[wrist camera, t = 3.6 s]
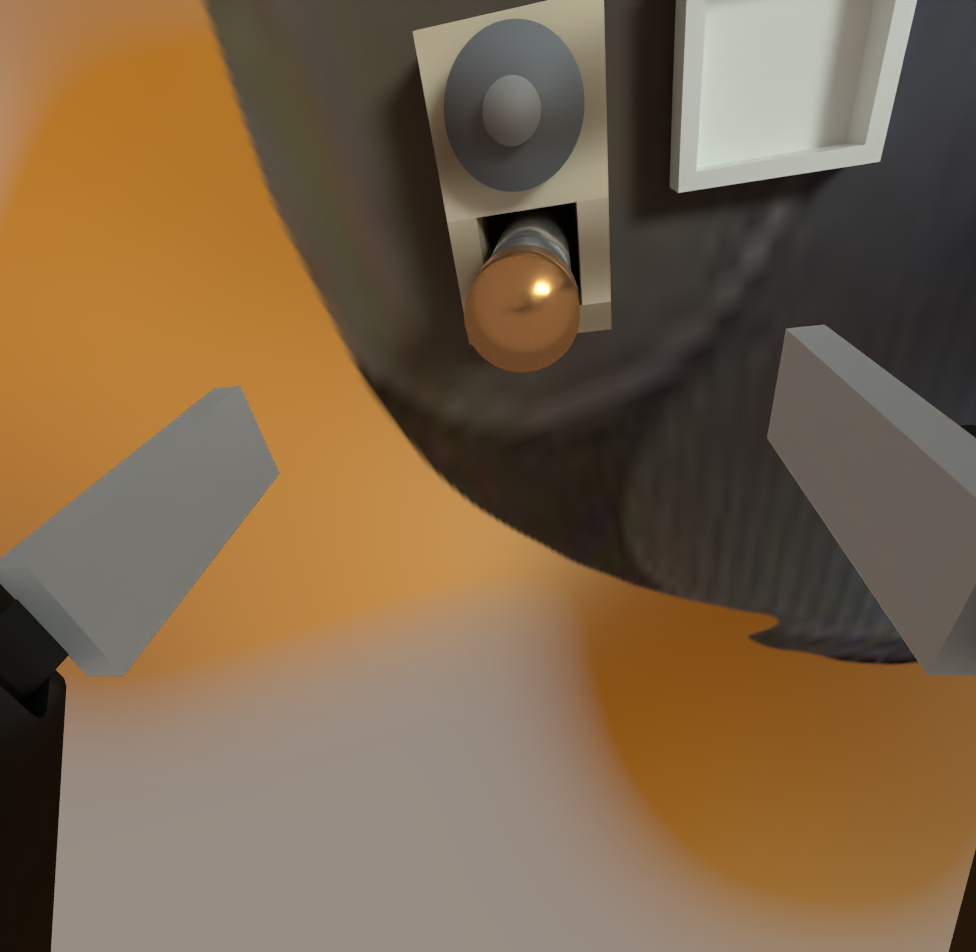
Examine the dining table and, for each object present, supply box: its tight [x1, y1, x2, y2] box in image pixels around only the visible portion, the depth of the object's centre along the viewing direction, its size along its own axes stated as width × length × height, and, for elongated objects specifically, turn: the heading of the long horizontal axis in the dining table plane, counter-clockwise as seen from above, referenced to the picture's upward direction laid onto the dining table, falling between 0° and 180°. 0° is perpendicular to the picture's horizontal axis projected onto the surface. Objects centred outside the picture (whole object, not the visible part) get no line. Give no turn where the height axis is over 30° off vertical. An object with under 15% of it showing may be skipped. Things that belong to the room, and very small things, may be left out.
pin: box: [464, 209, 580, 372], centre depth 25 cm, size 4×4×13 cm
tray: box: [669, 0, 917, 193], centre depth 23 cm, size 9×9×2 cm
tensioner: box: [413, 0, 611, 345], centre depth 26 cm, size 14×8×7 cm, turn 9°
